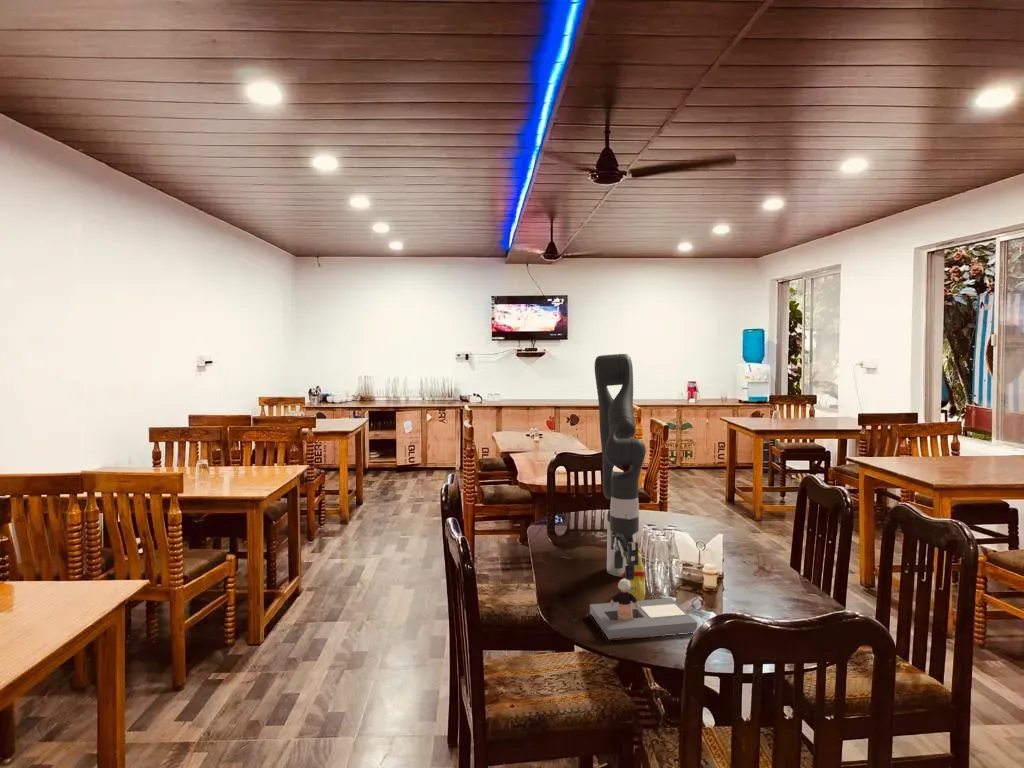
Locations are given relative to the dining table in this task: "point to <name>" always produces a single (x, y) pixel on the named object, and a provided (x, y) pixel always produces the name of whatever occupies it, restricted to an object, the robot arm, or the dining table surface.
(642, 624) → the pocket holder
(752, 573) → the dining table surface
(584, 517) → the dining table surface
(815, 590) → the dining table surface
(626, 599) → the grandmother figurine
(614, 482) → the robot arm
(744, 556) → the dining table surface
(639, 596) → the chocolate bunny
